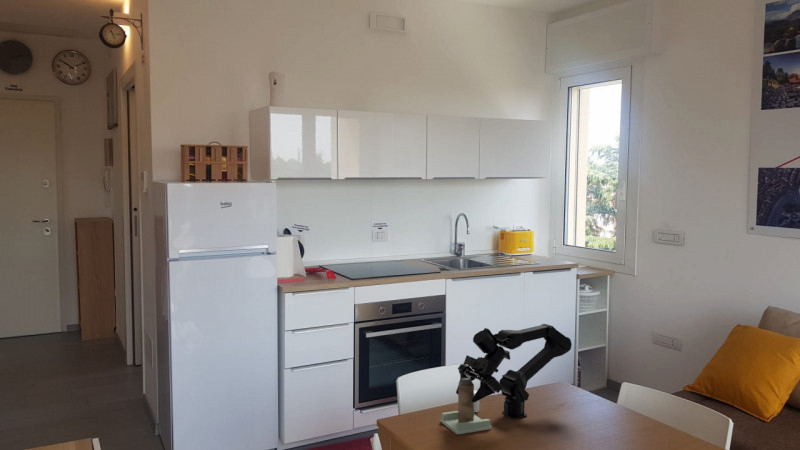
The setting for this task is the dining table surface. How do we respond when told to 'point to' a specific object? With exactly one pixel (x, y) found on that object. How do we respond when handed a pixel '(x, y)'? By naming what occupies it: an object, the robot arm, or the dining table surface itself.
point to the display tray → (459, 428)
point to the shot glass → (476, 403)
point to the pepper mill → (465, 400)
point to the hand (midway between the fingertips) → (464, 397)
